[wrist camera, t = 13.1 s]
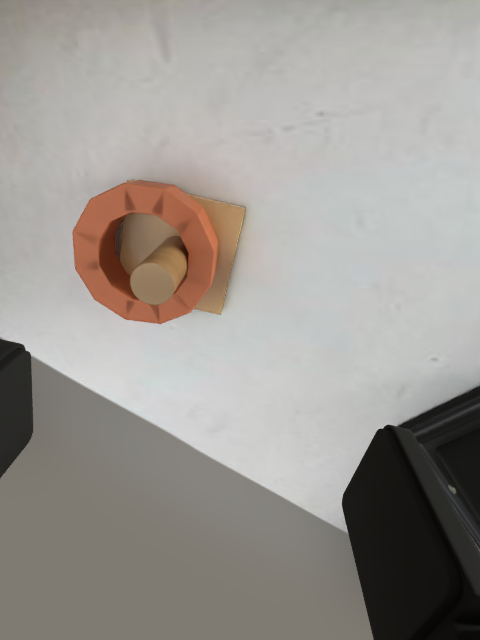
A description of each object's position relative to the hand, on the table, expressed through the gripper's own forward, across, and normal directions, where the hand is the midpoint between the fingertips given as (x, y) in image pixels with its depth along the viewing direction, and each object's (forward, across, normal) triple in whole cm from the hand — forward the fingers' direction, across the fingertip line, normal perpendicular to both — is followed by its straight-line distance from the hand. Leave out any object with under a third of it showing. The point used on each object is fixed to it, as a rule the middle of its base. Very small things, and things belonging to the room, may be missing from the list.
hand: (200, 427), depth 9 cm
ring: (+17, +6, +1) cm, 18 cm away
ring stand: (+18, +4, +1) cm, 19 cm away
